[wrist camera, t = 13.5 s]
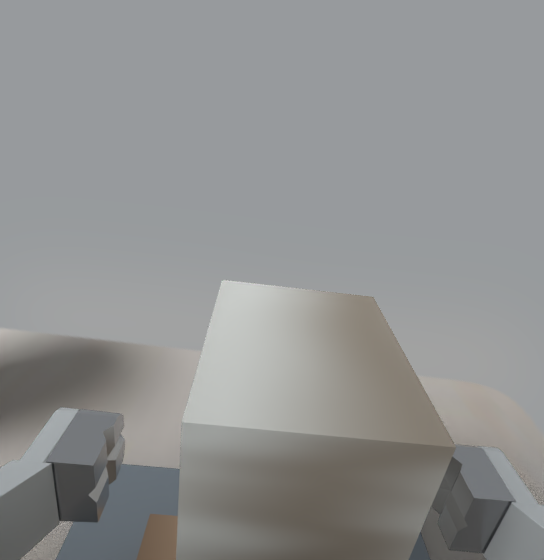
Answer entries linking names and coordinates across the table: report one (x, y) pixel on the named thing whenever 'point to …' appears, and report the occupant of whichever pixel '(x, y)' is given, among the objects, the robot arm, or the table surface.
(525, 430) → the table surface
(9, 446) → the table surface
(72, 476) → the robot arm
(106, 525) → the slate mat
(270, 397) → the pale pillar on plinth
